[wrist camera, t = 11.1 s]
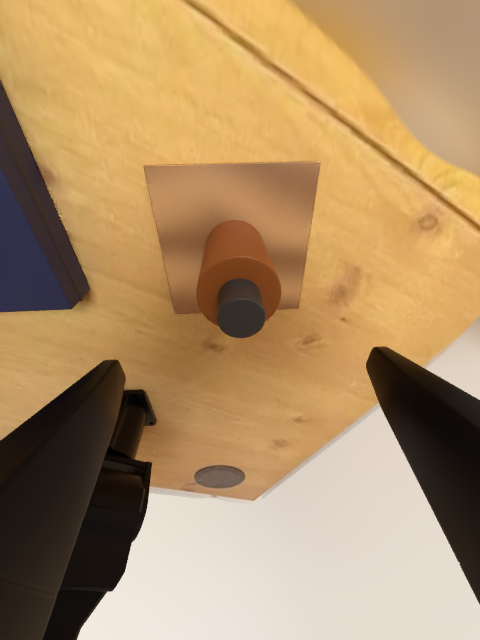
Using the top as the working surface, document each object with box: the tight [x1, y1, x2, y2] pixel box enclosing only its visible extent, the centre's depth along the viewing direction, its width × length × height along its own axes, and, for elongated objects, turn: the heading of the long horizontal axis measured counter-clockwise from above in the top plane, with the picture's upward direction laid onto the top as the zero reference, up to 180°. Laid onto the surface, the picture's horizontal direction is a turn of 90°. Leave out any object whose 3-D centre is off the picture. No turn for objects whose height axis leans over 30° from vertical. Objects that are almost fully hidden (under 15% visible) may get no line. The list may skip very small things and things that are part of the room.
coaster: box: [144, 161, 320, 314], centre depth 18 cm, size 11×11×1 cm
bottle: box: [196, 220, 281, 338], centre depth 14 cm, size 4×4×9 cm
